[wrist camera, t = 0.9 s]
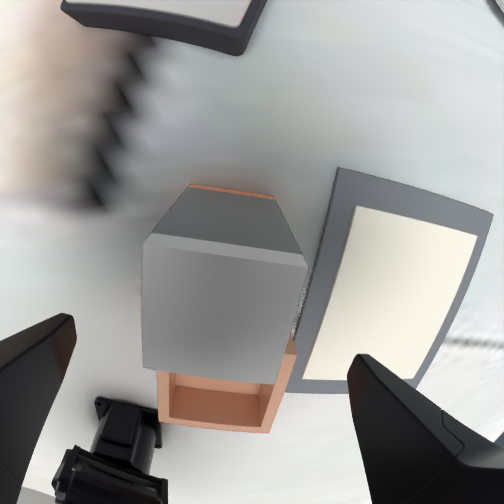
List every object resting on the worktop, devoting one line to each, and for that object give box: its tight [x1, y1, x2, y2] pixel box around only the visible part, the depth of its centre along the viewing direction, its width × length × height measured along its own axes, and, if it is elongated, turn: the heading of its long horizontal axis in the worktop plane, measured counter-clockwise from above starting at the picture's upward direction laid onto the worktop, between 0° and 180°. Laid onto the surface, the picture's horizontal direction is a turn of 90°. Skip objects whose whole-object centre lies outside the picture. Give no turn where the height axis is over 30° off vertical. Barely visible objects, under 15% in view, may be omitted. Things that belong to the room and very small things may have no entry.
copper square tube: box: [157, 332, 297, 433], centre depth 21 cm, size 8×8×4 cm
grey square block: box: [141, 184, 309, 384], centre depth 15 cm, size 5×5×10 cm
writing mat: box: [285, 167, 494, 394], centre depth 22 cm, size 18×14×1 cm
